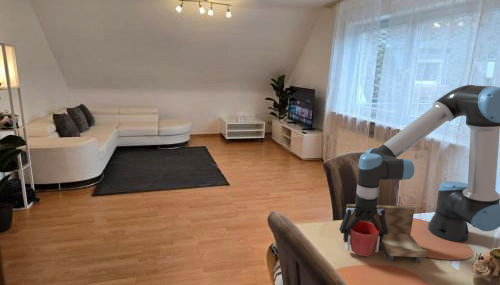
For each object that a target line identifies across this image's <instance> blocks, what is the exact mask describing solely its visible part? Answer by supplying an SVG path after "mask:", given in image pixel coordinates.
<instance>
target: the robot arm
mask: <svg viewBox="0 0 500 285" xmlns="http://www.w3.org/2000/svg"><path fill="white" fill-rule="evenodd" d="M458 117H459V118H460V117H465V125H466V126H467V127H468V128H469V129H470V134H469V149H468V150H469V152H468V153H469V154H468V172H467V174H468V175H467V182H466V183H465V182H461V181H460V182H459V181H450V180H449V181H443V182H440V185H439V188H438V193H437V200H436V206H435V212H434V214H433V215H432V217H431V219H430V221H429V222H428V226H427V227H428V228H427V229H428V231H429V232H430V233H432V234H433V235H434V236H436V237H438V238H441V239H444V240H446V241H447V240H448V241H453V242H464V241H465V242H466V241H468V239H469V236H470V232H469V227H468V224H469V225H470V226H472V227H474V228H476V229H478V230H479V231H482V232H491V231H495V230H497V229H499V228H500V193H499V192H497V190H496V189H497V188H496V186H497V174H498V162H499V161H498V159H499V147H500V146H499V145H500V87H499V86H495V85H493V86H490V85H475V84H474V85H473V84H467V85H462V86H458V87H457V88H455V89H452V90H450V91H449V92H447V93H446V94H444V95H443V96H441V97H440V98H438V99H437V100H435V101H434V102H433V103H432V107H430V108H429V109H428V110H427V111H425V112H424V113H423V114H421V115H420V116H418V117H417V118H416V119H415V120H413V121H412V122H411V123H409V124H408V125H407V126H405V127H403V129H402V130H400V131H399V132H398V133H396V134H395V135H394V136H392V137H391V138H389V139H388V140H387V141H385V142H384V143H383V144H381V145H380V146H379V147H371V148H369V149H367V150H366V152H365V153H363V154H361V155H359V156H360V157H359V161H358V166H357V167H358V169H357V170H358V171H357V183H356V194H355V203H354V204H355V207H354V208H349V207H347V206H346V207H347V208H345V214H344V217H343V219H342V222H341V224H340V226H339V232H340V233H341V234H343V237H344V240H343V242H344V241H345V242H344V243H345V249H346V251H347V252H350V248H351V243H350V234H349V233H350V229H353V228H354V227H355V225H356V224H357V223H358V222H359V221H360V220H365V219H366V220H370V219H371V221H372V223H373V224H374V226H375V228H376V230H377V231H378V230H379V235H378V238H377V241H376V244H375V247H374V249H373V250H374V251H375V252H376V253H378V252H379V250H380V248H379V243H381V242H382V237H383V236H384V234H386V235H387V234H388V230H387V226H386V221H385V211H384V210H383V208H380V209H377V205H378V199H379V198H378V197H379V191H380V190H379V188H380V181H404V180H405V181H407V180H410V179H411V178H413V177H414V175H415V165H414V163H413V161H412V160H411V159H407V158H399V157H401V156H402V155H403V154H404V153H406V152H407V151H408V150H410V149H411V148H412V147H414V146H416V144H418V143H419V142H421V141H422V140H423V139H424V138H426V137H427V136H429V135H430V134H431V133H433V132H435V131H436V130H437V129H438V128H440V127H441V126H442V125H444V124H445V123H446V122H452V121H454V120H455V119H456V118H458ZM353 212H355V213H356V214H355V215H354V217H353V219H352V220H351V221H350V223H349V224H348V222H349V219H350V217H351V215H352V213H353ZM377 212H378V214H379V217H380V221H381V226H382V230H381V229H380V228H379V226H378V224H377V222H376V220H375V218H374V215H375V214H376V213H377ZM347 224H348V225H347ZM346 226H347V227H346Z"/></svg>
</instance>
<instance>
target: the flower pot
mask: <svg viewBox="0 0 500 285" xmlns="http://www.w3.org/2000/svg"><path fill="white" fill-rule="evenodd" d="M349 234H350V248H351V251H352V252H353V253H354V254H356V255H359V256H362V257H363V256H364V257H365V256H366V257H367V256H371V255H372V254H373V251H374V250H375V249H374V247H375V244H376V241H377V238H378V235H379V230H378V231H377V230H376V228H375V226H374V224H372V223H369V222H365V221H359V222H358V223H357V224H356V225H355V227H354V228H353V229H350V233H349Z"/></svg>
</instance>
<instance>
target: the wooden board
mask: <svg viewBox="0 0 500 285" xmlns="http://www.w3.org/2000/svg"><path fill="white" fill-rule="evenodd" d="M347 207H349V208H354V207H355V203H354V204H353V203H352V204H351V203H346V208H347ZM346 208H345V209H346ZM380 208H383V210H384V211H385V221H386V226H387V230H388V233H400V234H410V235H411V234H412V233H411V232H412V227H413V221H414V220H413V219H414V214H415V208H414V207H413V206H408V205H406V206H405V205H404V206H403V205H385V204H384V205H383V204H382V205H380V204H377V209H380ZM355 214H356V213H355V212H353V213H352V215H351V217H350V219H349V222H348V224H349V223H350V221H351V220H352V219H353V217H354V215H355ZM374 218H375V220H376V222H377V224H378V226H379V228H380V229H381V230H382V226H381V221H380V217H379V214H378V212H377V213H376V214H375V215H374ZM360 221H365V222H369V223H372V221H371V219H370V220H366V219H365V220H360ZM348 224H347V225H348ZM372 224H373V223H372ZM346 227H347V226H346ZM411 236H412V235H411ZM342 237H343V238H342V240H343V242H344V243H346V242H345V241H344V236H342Z"/></svg>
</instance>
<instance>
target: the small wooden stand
mask: <svg viewBox="0 0 500 285" xmlns="http://www.w3.org/2000/svg"><path fill="white" fill-rule="evenodd" d="M379 250H380V251H381V252H382V253H383V255H384V256H385V258H386V260H387V261H388V262H393V261H394V260H393V259H394V257H408V258H411V259H412V260H413V262H415V263H421V259H422V258H427V254H428V251H427V249H424V248H422V247H421V246H420V244H419V243H418V242H417V241H416V240H415V238H414V237H413V236H412V235H410V234H400V233H388V234H387V235H386V234H384V236H383V237H382V242H381V243H379Z"/></svg>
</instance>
